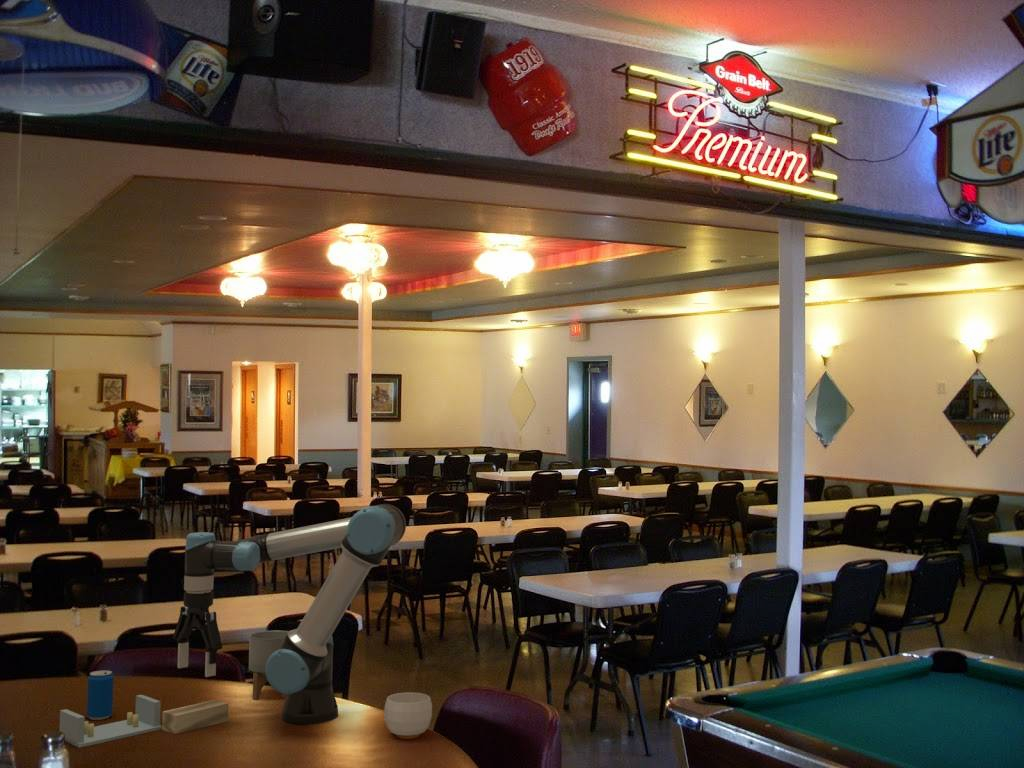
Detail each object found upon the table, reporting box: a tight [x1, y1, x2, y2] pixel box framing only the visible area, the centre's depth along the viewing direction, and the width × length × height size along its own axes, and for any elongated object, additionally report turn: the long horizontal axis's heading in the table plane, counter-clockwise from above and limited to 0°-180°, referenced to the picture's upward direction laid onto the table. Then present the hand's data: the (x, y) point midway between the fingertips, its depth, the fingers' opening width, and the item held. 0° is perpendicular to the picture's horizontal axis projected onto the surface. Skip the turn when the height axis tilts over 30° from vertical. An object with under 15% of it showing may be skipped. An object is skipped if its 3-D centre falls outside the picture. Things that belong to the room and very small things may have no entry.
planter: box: [248, 629, 290, 701], centre depth 306 cm, size 13×13×18 cm
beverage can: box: [86, 669, 115, 721], centre depth 280 cm, size 6×6×12 cm
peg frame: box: [59, 694, 162, 748], centre depth 266 cm, size 12×22×7 cm, turn 138°
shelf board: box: [161, 699, 229, 735], centre depth 274 cm, size 6×16×5 cm, turn 140°
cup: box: [383, 691, 433, 740], centre depth 267 cm, size 12×12×10 cm
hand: (196, 671), depth 274 cm, fingers open, 13 cm apart
